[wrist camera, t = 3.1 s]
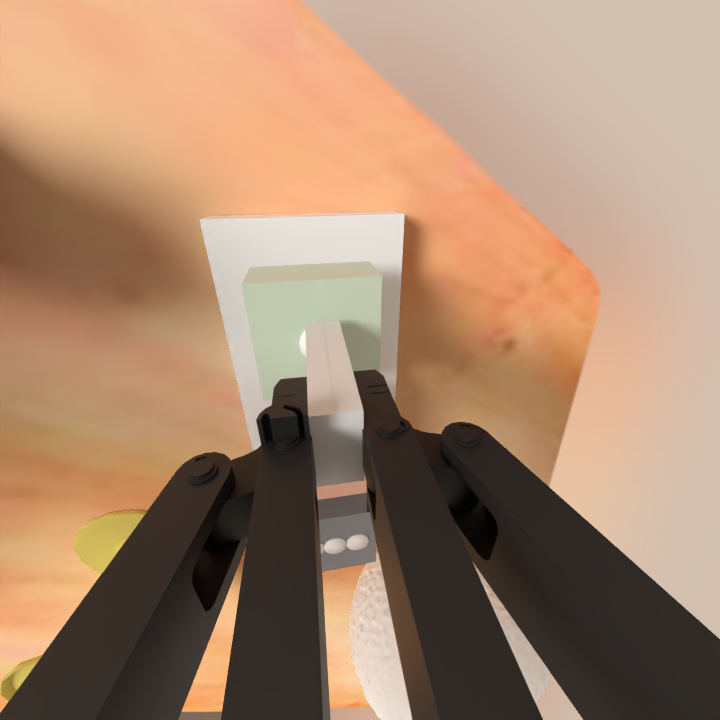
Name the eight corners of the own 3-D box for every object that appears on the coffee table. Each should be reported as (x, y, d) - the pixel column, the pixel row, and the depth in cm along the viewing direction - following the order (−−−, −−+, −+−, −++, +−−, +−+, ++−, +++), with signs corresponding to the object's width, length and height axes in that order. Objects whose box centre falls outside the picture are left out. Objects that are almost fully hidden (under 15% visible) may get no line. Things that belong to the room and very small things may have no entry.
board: (272, 511, 31) (270, 543, 29) (208, 215, 19) (192, 222, 16) (384, 494, 33) (392, 523, 30) (395, 210, 20) (411, 215, 17)
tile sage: (268, 370, 19) (263, 402, 16) (250, 267, 16) (240, 285, 14) (369, 361, 20) (380, 390, 17) (369, 261, 17) (382, 276, 14)
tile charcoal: (296, 537, 27) (296, 577, 24) (288, 487, 24) (287, 527, 21) (368, 526, 28) (376, 563, 25) (368, 476, 25) (377, 513, 22)
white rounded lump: (294, 551, 35) (292, 793, 21) (426, 457, 31) (527, 676, 18) (402, 602, 44) (450, 794, 30) (513, 534, 41) (624, 717, 27)
